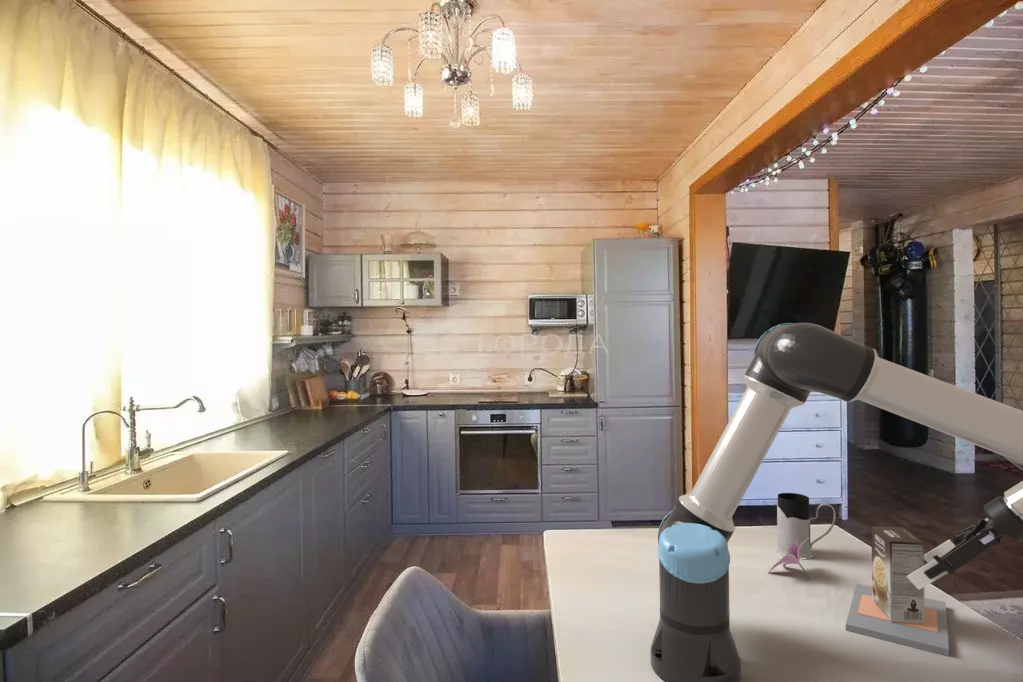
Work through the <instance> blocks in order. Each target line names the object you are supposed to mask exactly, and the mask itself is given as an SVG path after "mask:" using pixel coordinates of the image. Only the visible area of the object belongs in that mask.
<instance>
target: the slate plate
mask: <svg viewBox="0 0 1023 682" xmlns="http://www.w3.org/2000/svg"><path fill="white" fill-rule="evenodd" d="M850 603H851V604H850V607H849V611H848V614H847V619H846V622H845V631H848V632H851V633H856V634H860V635H863V636H866V637H871V638H876V639H879V640H882V641H883V640H884V641H888V642H892V643H895V644H899V645H903V646H907V647H910V648H914V649H918V650H922V651H926V652H931V653H935V654H938V655H943V656H947V657H950V644H949V633H948V632H949V630H948V614H947V602H946V601H942V600H936V599H932V598H928V597H924V622H925V623H924V624H919V623H906V622H892V621H890V620H889V619H888V618H887V617H886V615H885V614H884V613H883V612H882V611H881V610H880V609H879V607H878V606H877V605H876V604H875V603H874V602H873V600H872V585H867V584H861V583H856V585H855V589H854V593H853V596H852V600H851V602H850Z"/></svg>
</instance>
